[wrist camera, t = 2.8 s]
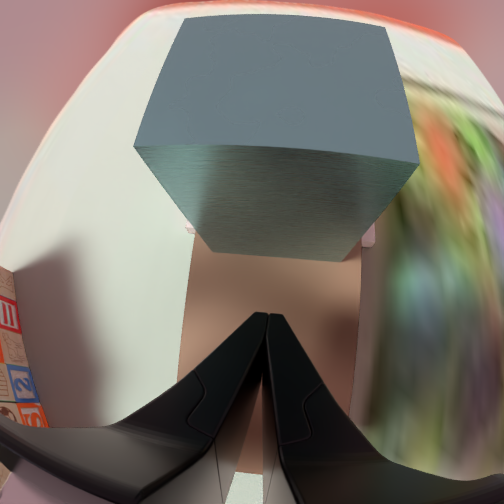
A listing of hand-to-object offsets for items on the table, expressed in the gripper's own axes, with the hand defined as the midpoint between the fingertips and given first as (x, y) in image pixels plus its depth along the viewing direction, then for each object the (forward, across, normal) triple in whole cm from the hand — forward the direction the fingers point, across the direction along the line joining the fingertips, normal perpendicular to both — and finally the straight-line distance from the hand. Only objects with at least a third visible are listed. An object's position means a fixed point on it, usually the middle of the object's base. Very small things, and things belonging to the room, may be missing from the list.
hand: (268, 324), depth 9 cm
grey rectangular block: (+7, 0, -2) cm, 7 cm away
